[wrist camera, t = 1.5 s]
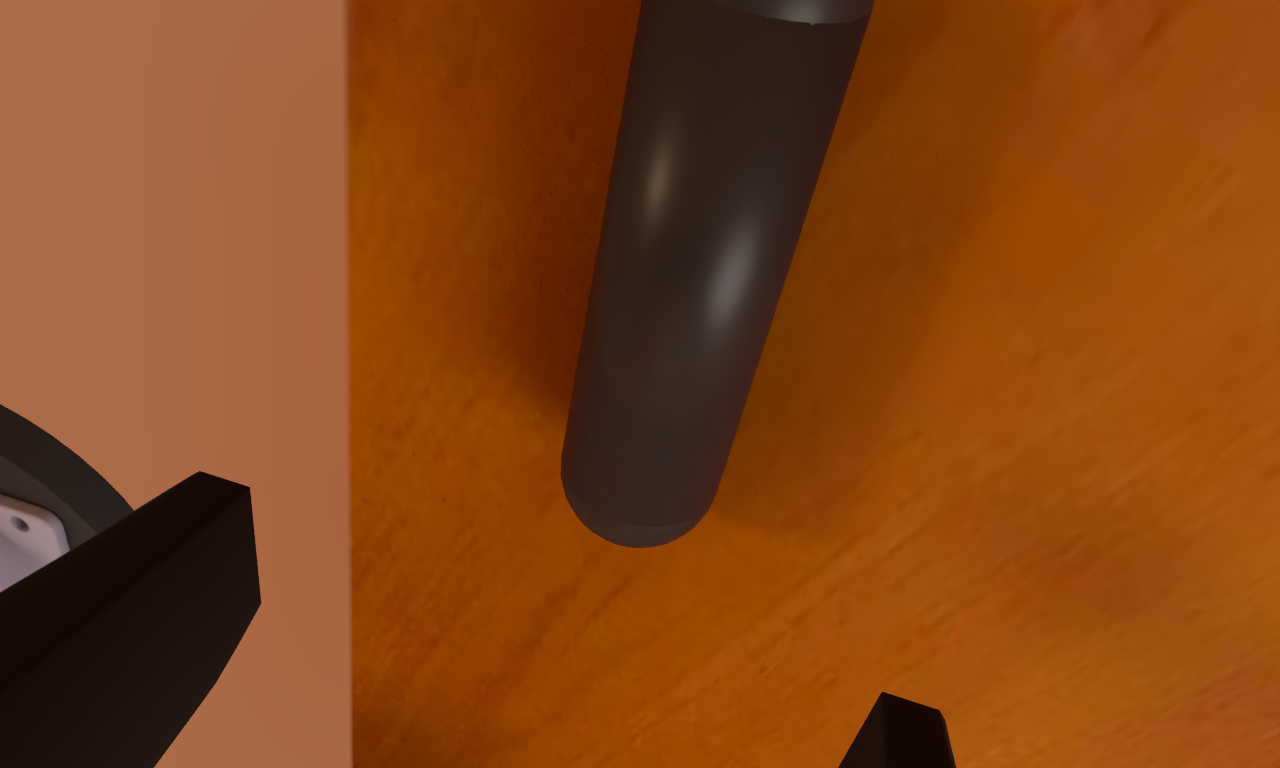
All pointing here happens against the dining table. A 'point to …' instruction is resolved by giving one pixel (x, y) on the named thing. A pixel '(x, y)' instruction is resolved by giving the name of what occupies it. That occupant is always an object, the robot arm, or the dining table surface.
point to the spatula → (697, 247)
